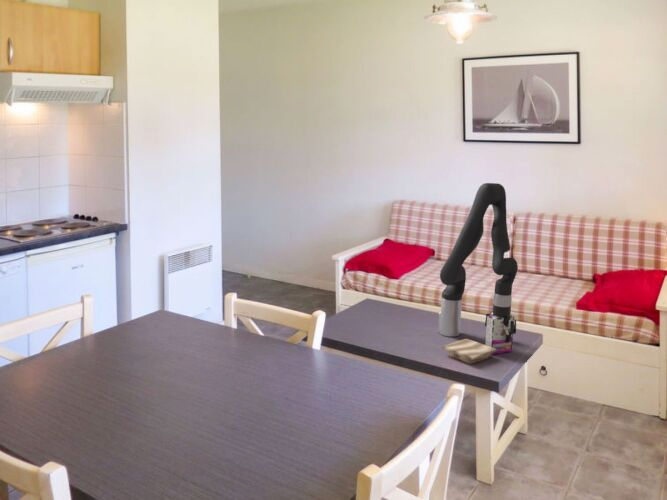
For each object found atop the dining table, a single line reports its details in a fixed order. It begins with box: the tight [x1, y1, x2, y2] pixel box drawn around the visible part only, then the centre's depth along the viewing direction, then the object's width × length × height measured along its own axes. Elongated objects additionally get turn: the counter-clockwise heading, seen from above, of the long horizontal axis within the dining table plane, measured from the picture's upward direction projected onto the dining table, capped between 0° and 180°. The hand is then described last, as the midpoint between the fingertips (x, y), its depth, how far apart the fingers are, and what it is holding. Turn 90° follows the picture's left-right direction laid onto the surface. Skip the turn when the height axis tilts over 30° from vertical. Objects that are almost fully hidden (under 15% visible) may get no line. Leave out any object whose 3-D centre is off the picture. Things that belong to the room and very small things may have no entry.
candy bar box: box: [484, 314, 515, 356], centre depth 281 cm, size 11×5×16 cm, turn 114°
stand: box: [441, 338, 497, 365], centre depth 276 cm, size 16×16×4 cm
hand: (499, 339), depth 282 cm, fingers open, 8 cm apart
